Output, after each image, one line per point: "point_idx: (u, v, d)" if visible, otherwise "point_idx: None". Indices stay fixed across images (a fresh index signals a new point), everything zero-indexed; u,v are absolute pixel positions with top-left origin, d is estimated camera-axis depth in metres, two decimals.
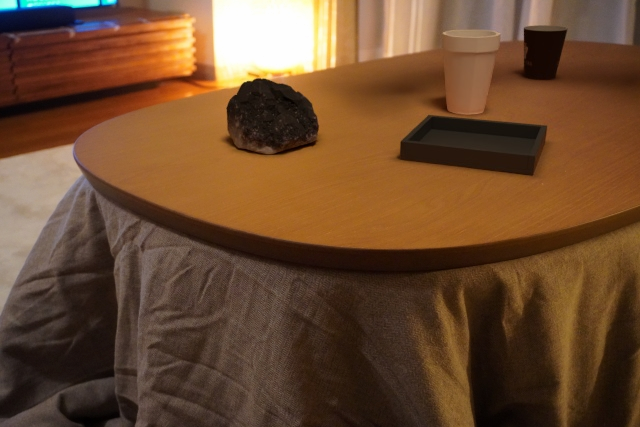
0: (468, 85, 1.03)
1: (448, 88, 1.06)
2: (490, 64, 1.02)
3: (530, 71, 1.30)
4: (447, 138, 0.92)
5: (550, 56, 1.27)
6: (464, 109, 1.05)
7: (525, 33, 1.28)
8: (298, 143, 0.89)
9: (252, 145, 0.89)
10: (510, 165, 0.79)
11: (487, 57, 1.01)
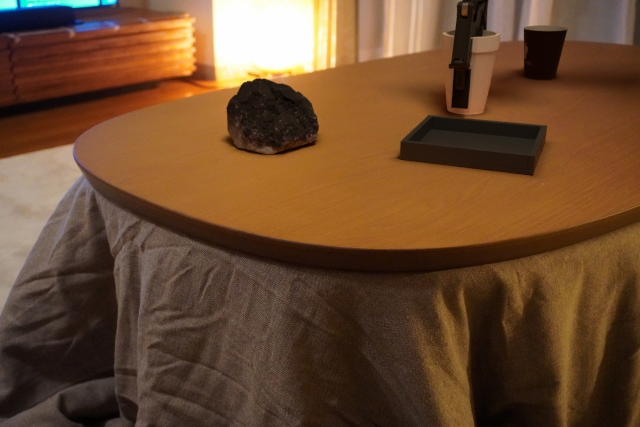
0: None
1: (448, 88, 1.06)
2: (490, 64, 1.02)
3: (530, 71, 1.30)
4: (447, 138, 0.92)
5: (550, 56, 1.27)
6: (464, 109, 1.05)
7: (525, 33, 1.28)
8: (298, 143, 0.89)
9: (252, 145, 0.89)
10: (510, 165, 0.79)
11: (487, 57, 1.01)
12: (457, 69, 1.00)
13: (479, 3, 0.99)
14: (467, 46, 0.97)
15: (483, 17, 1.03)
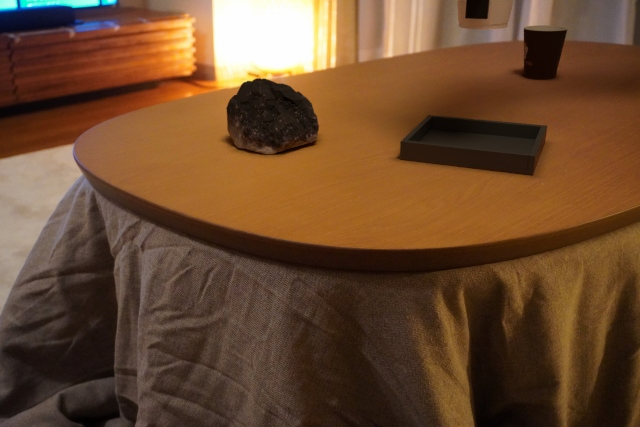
0: None
1: None
2: None
3: (530, 71, 1.30)
4: (447, 138, 0.92)
5: (550, 56, 1.27)
6: (482, 22, 0.80)
7: (525, 33, 1.28)
8: (298, 143, 0.89)
9: (252, 145, 0.89)
10: (510, 165, 0.79)
11: None
12: None
13: None
14: None
15: None
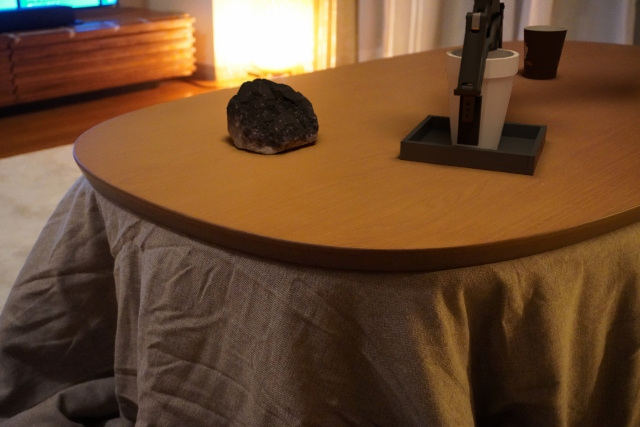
0: None
1: (453, 121, 0.85)
2: (506, 92, 0.82)
3: (530, 71, 1.30)
4: (447, 138, 0.92)
5: (550, 56, 1.27)
6: None
7: (525, 33, 1.28)
8: (298, 143, 0.89)
9: (252, 145, 0.89)
10: (510, 165, 0.79)
11: (503, 84, 0.80)
12: (464, 96, 0.78)
13: (493, 16, 0.79)
14: (478, 67, 0.75)
15: (498, 32, 0.83)
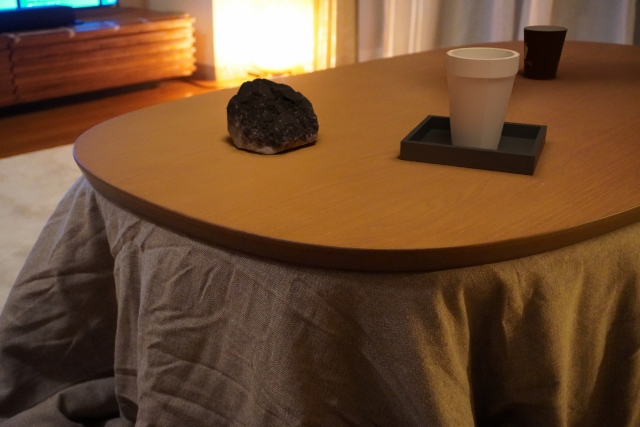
0: (478, 118, 0.82)
1: (453, 121, 0.85)
2: (506, 92, 0.82)
3: (530, 71, 1.30)
4: (447, 138, 0.92)
5: (550, 56, 1.27)
6: None
7: (525, 33, 1.28)
8: (298, 143, 0.89)
9: (252, 145, 0.89)
10: (510, 165, 0.79)
11: (503, 84, 0.80)
12: None
13: None
14: None
15: None
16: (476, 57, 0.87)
